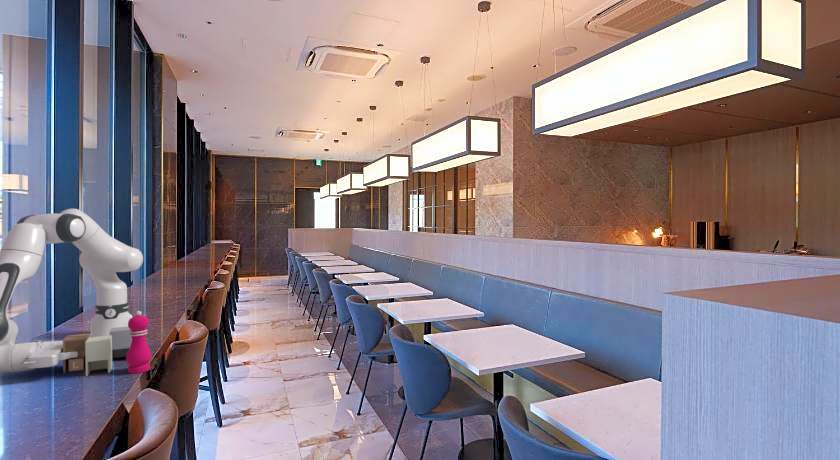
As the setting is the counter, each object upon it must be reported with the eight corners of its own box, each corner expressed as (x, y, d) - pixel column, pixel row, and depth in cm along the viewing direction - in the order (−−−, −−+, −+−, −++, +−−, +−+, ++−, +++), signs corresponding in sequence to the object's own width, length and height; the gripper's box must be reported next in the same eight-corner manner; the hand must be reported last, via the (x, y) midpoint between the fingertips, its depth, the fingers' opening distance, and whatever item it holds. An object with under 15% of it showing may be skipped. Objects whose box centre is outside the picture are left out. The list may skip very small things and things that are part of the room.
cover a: (67, 367, 154) (67, 335, 154) (90, 364, 157) (90, 333, 157) (63, 373, 148) (62, 339, 148) (87, 370, 151) (86, 337, 151)
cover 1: (89, 370, 151) (88, 337, 151) (112, 367, 154) (111, 335, 154) (85, 376, 145) (85, 342, 145) (109, 372, 148) (109, 339, 148)
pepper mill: (133, 367, 154) (133, 309, 154) (155, 366, 155) (155, 308, 154) (121, 374, 147) (120, 313, 146) (144, 373, 147) (144, 312, 147)
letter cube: (71, 368, 153) (71, 356, 153) (85, 366, 155) (85, 355, 155) (68, 371, 150) (68, 359, 150) (83, 370, 152) (83, 358, 152)
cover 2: (112, 357, 165) (111, 327, 165) (132, 355, 168) (132, 326, 168) (109, 362, 159) (109, 331, 159) (131, 360, 162) (130, 329, 162)
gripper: (17, 355, 137) (74, 349, 144) (35, 339, 155) (85, 334, 162) (17, 375, 137) (74, 368, 144) (36, 357, 155) (85, 352, 162)
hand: (80, 350), depth 153 cm, fingers closed on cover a, 6 cm apart
